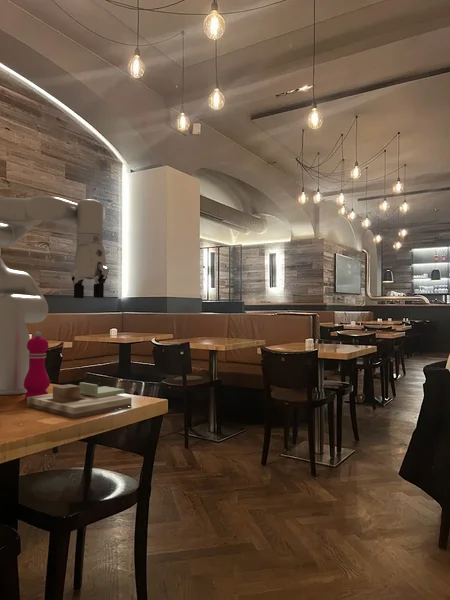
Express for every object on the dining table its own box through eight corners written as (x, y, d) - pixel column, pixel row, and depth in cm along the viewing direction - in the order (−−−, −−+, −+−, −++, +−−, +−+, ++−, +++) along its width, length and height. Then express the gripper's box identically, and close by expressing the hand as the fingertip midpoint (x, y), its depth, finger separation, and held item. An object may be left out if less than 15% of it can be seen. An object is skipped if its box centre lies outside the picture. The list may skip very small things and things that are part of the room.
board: (26, 406, 124) (27, 397, 125) (83, 397, 139) (83, 389, 139) (74, 418, 111) (74, 407, 111) (131, 406, 125) (131, 397, 125)
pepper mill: (40, 401, 132) (41, 332, 133) (17, 399, 133) (19, 331, 134) (54, 396, 139) (55, 331, 140) (33, 395, 141) (34, 330, 141)
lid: (77, 394, 130) (77, 382, 130) (104, 390, 137) (104, 378, 137) (96, 397, 124) (97, 385, 124) (124, 393, 132) (124, 381, 132)
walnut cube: (69, 402, 125) (69, 384, 126) (79, 404, 122) (80, 386, 122) (52, 405, 121) (52, 386, 122) (63, 407, 118) (63, 388, 118)
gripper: (118, 240, 135) (116, 297, 135) (82, 245, 146) (81, 298, 145) (97, 236, 129) (95, 297, 129) (62, 242, 140) (60, 297, 139)
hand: (88, 297), depth 137 cm, fingers open, 9 cm apart
